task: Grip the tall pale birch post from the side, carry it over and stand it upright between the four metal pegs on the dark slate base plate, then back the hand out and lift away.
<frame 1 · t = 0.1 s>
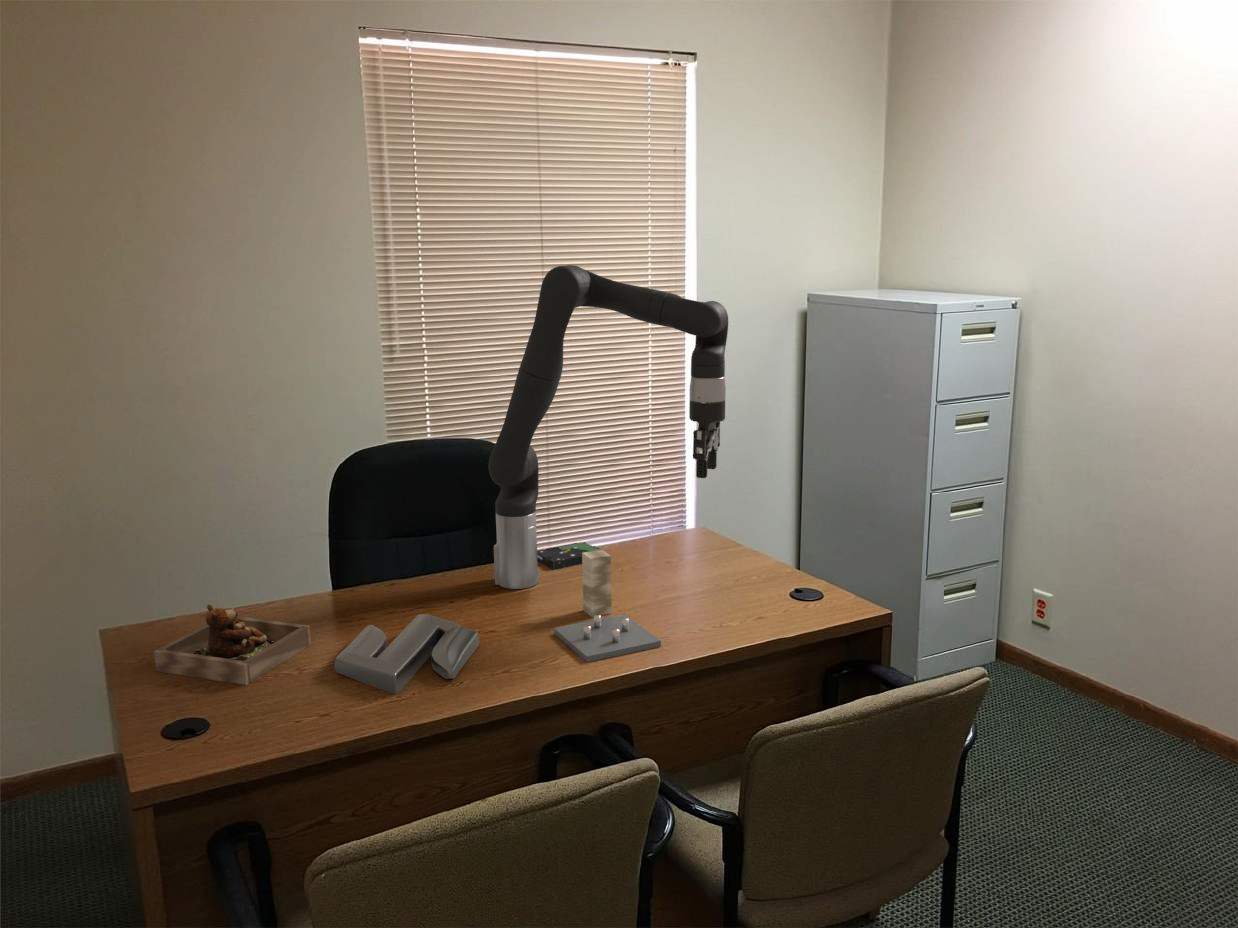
hand: (706, 473, 212), 29 cm above the table, fingers open, 8 cm apart
disk drive: (569, 561, 250), on the table
walnut display rim: (236, 657, 193), on the table
emblem: (410, 662, 191), on the table
bear figurine: (234, 659, 193), resting in walnut display rim
birch post: (597, 611, 214), on the table
slate base plate: (606, 639, 199), on the table
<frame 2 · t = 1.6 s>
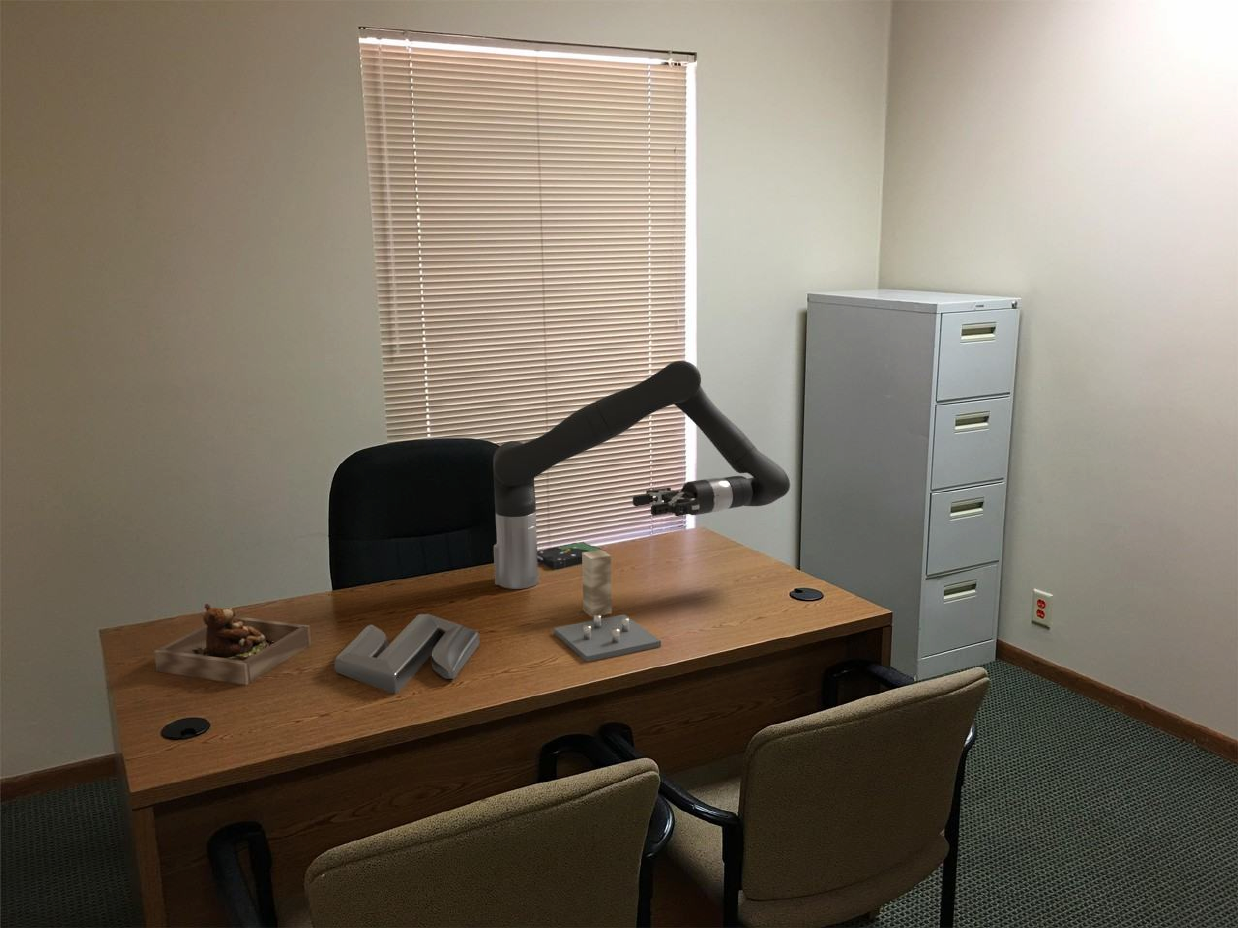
hand: (642, 505, 214), 22 cm above the table, fingers open, 8 cm apart
nothing on the table moved.
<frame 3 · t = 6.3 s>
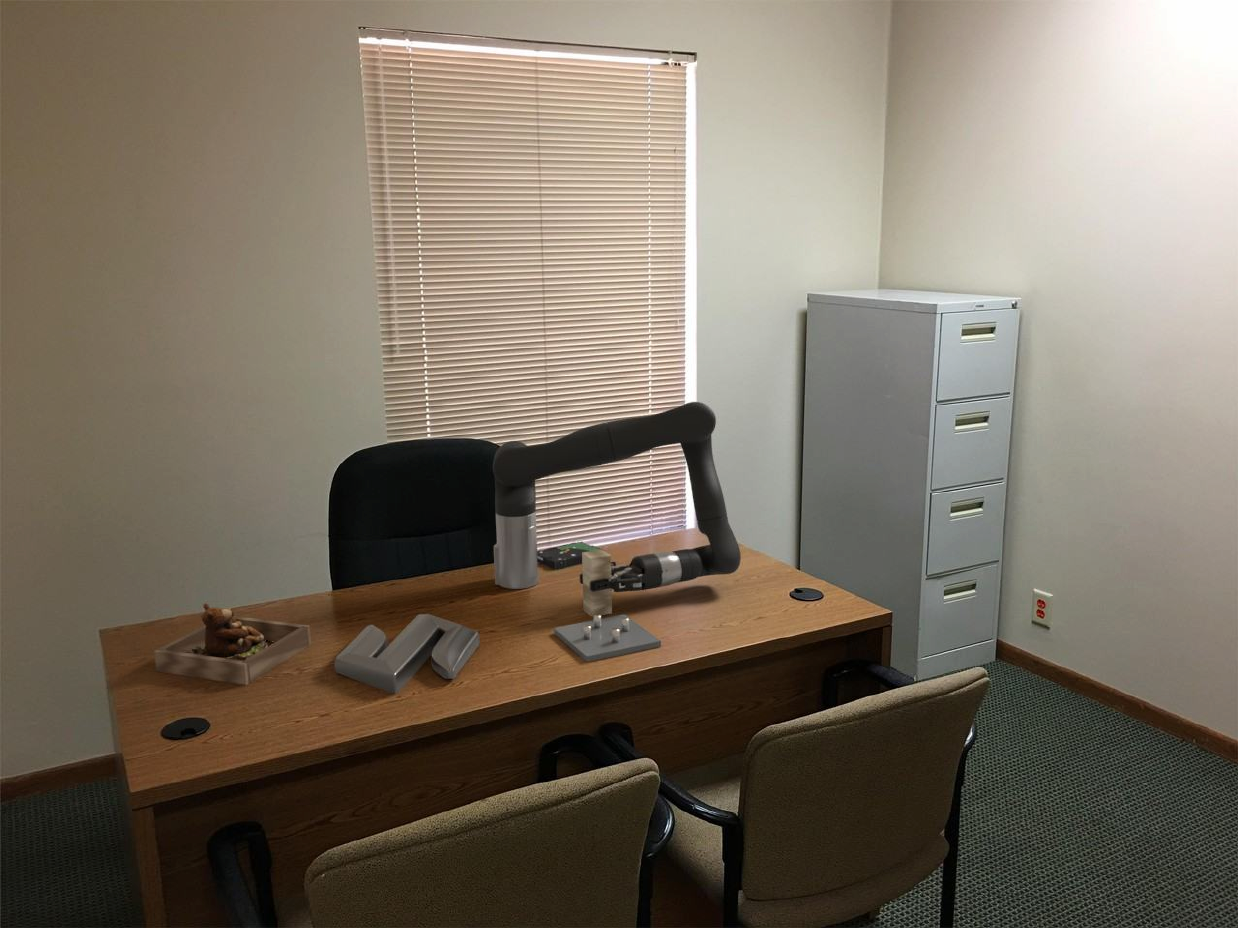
hand: (585, 582, 211), 7 cm above the table, fingers closed on birch post, 4 cm apart
birch post: (597, 611, 214), on the table, touching gripper
everything else where it was.
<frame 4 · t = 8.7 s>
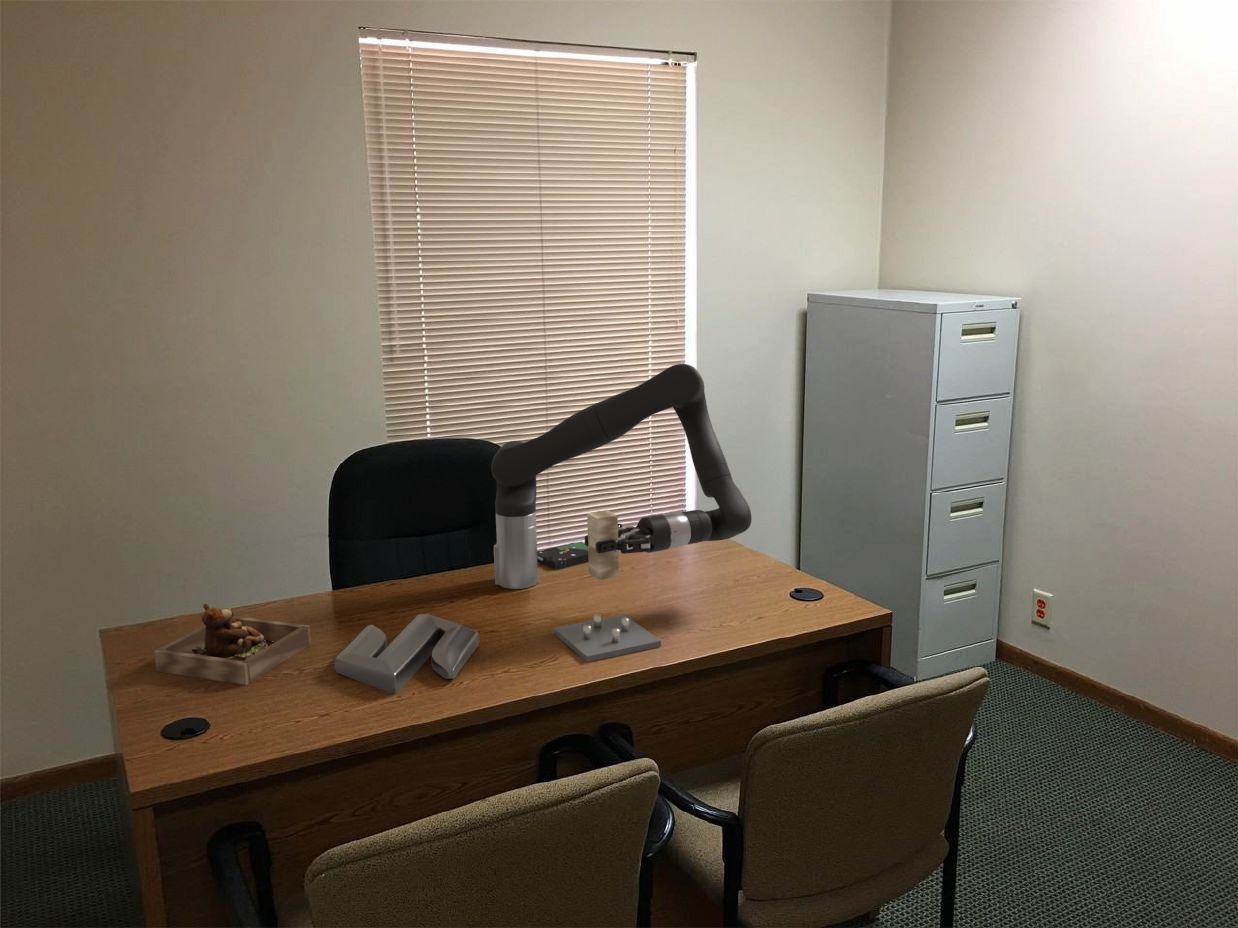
hand: (591, 544, 201), 18 cm above the table, fingers closed on birch post, 4 cm apart
birch post: (603, 575, 204), point 11 cm above the table, touching gripper
everything else where it was.
when the fingers open (10 cm above the table, at t = 11.3 s): birch post drops 1 cm, resting on slate base plate.
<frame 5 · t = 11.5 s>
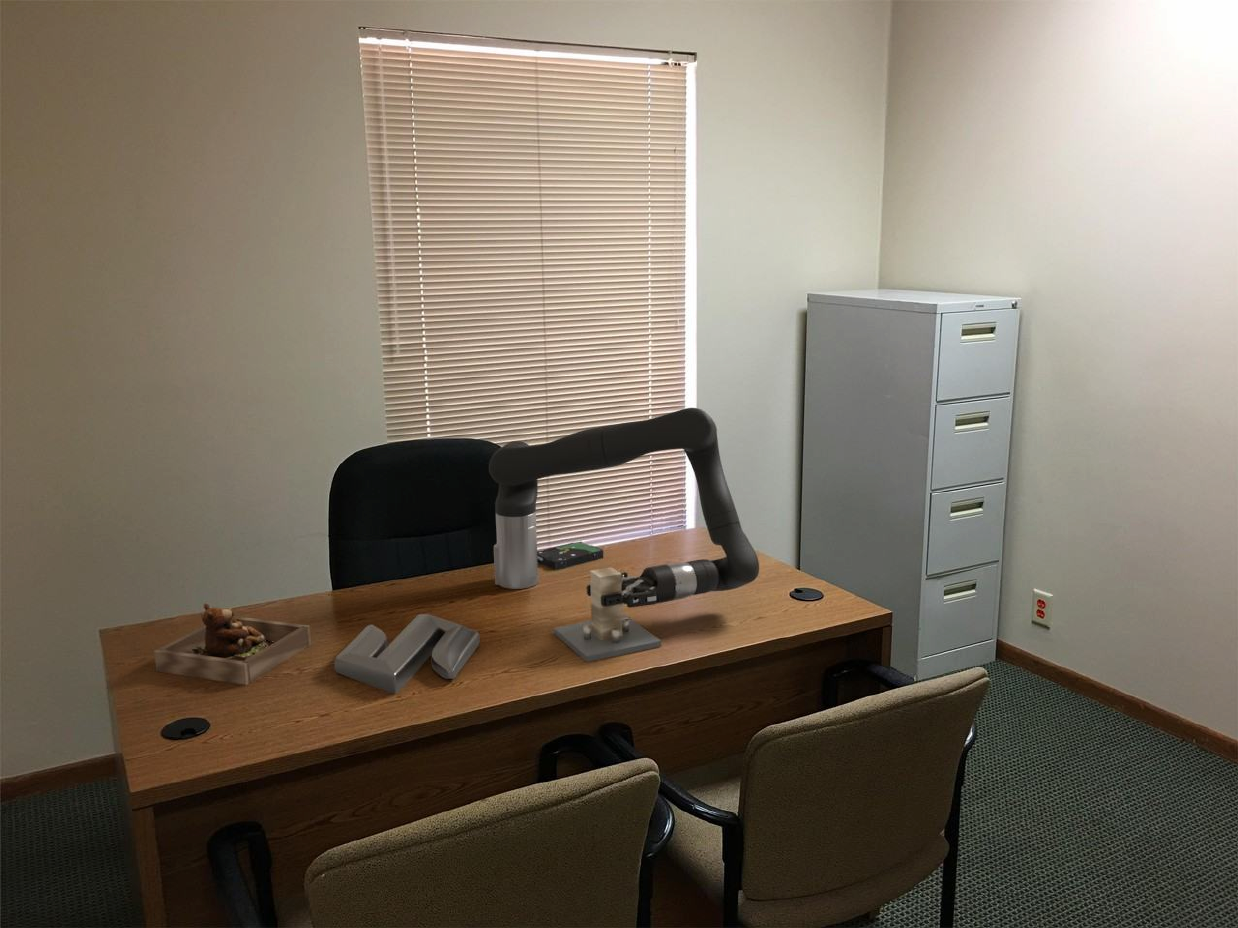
hand: (594, 596, 196), 10 cm above the table, fingers open, 6 cm apart
birch post: (606, 634, 199), point 1 cm above the table, touching slate base plate
everything else where it was.
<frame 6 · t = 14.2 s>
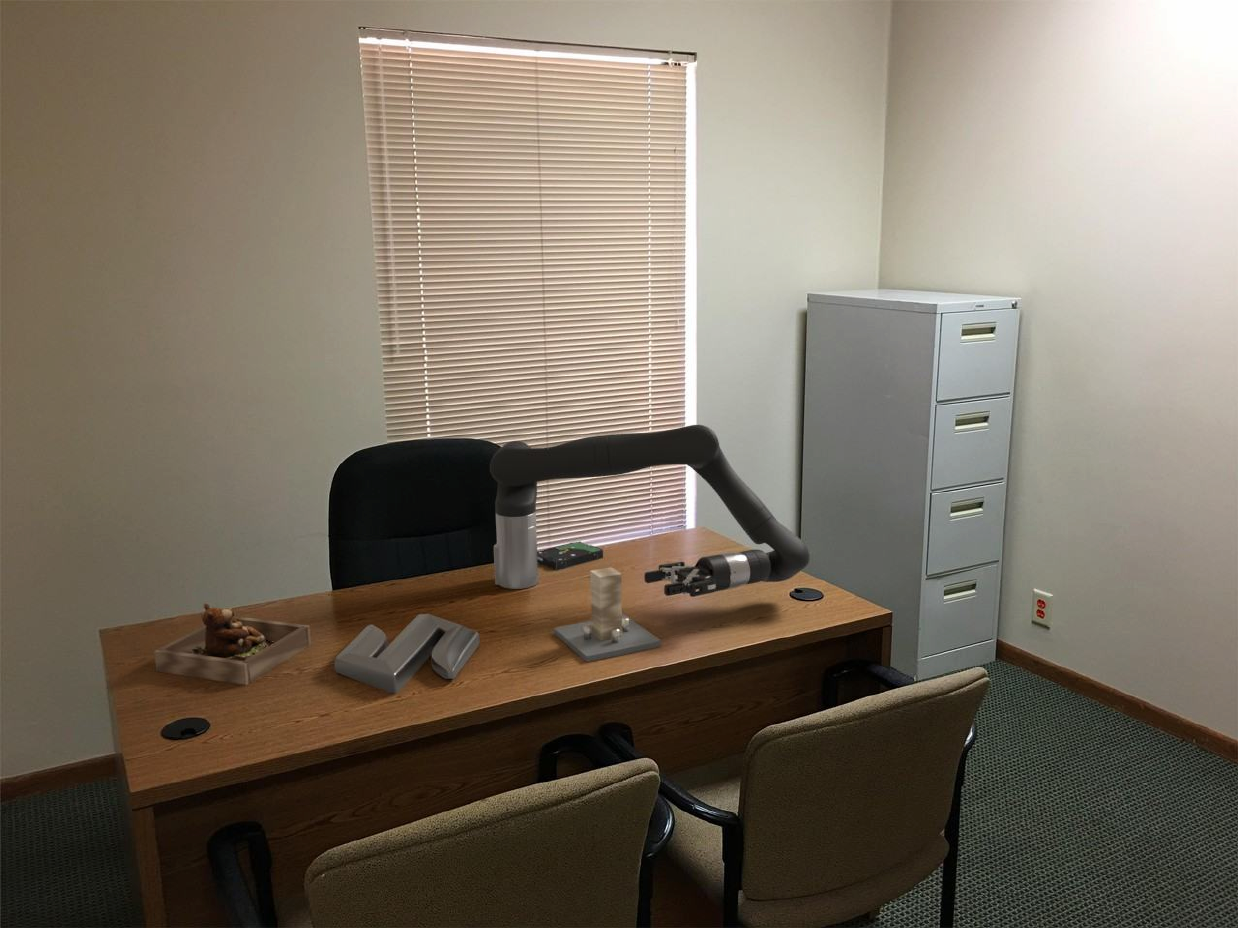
hand: (655, 584, 202), 10 cm above the table, fingers open, 8 cm apart
nothing on the table moved.
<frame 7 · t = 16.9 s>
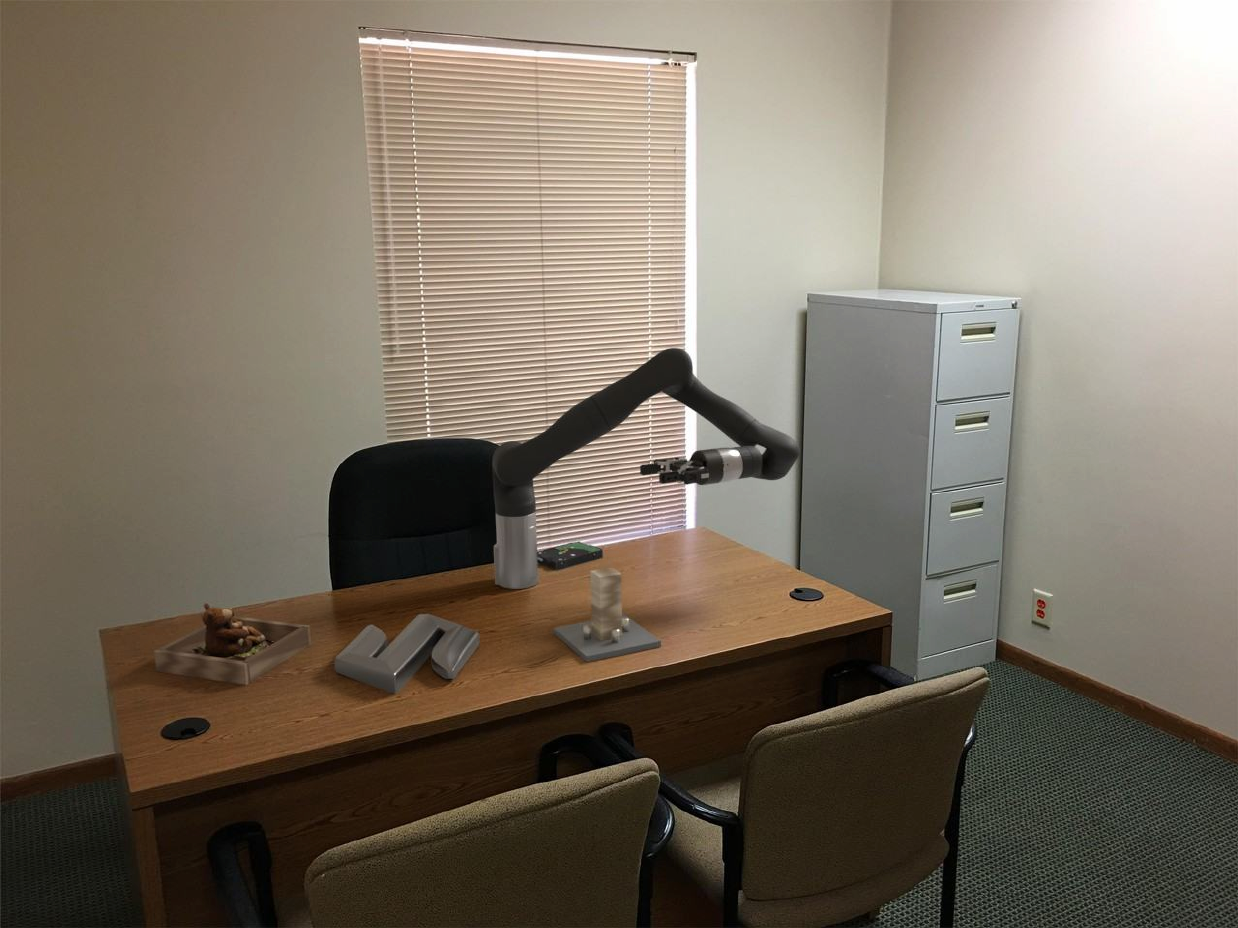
hand: (650, 474, 208), 30 cm above the table, fingers open, 8 cm apart
nothing on the table moved.
at the end: birch post 0.0 cm off-centre on the slate base plate, point 1.2 cm above the slate base plate's base; birch post tilted 0°; the gripper is holding nothing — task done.
